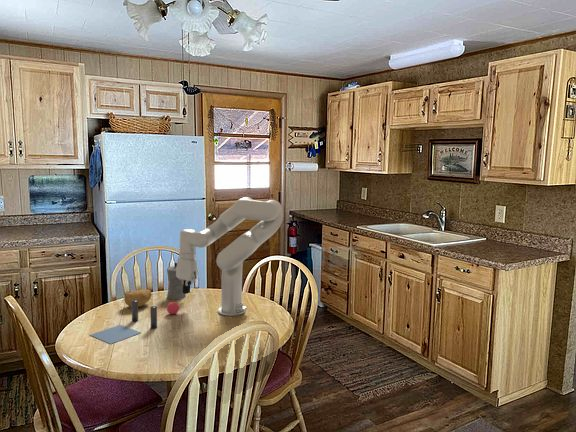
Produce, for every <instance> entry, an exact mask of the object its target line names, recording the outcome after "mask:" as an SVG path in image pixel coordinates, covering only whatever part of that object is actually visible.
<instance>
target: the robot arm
mask: <svg viewBox="0 0 576 432" xmlns="http://www.w3.org/2000/svg"><path fill="white" fill-rule="evenodd" d="M245 220H253V221H259V222H258V223H256V225H254V226H253V227H252V228H250V229H249V230H248V231H245V232H244V233H243V234H241V235H240V236H238V237H237V238H236V239H235V240H233V241H232V242H231V243H230V244H228V245H227V246H225V248H223V249H222V250H221V251H220V252H218V253H217V256H216V259H215V261H216V266H217V267H218V268H219V269H220V270H221V296H220V297H221V301H220V302H221V303H220V307H219V308H218V309H217V312H218V313H219V314H220V315H222V316H227V317H234V316H235V317H236V316H241V315H243V314H244V313H246V312H247V310H248V307H246V306H244V302H243V301H242V300H243V294H242V293H243V265H244V261H245V260H246V259H248V258H249V257H250V256H252V255H253V254H254V252H256V251H257V249H258V248H259V247H260V246H261V245H262V244H263V243H265V242H266V241H268V239H270V238H271V237H272V236H273V235H274V234H275V233H277V231H278V230H279V228H280V227H281V225H282V224H283V223H282V222H283V220H284V210H283V206H282V204H281V203H280V202H279V201H278V200H276V199H269V200H267V201H264V200H263V201H261V200H254V199H253V198H251V197H249V196H244V197H242V198H239V199H237V200H236V201H235V202H234V204H232V205H231V206H230V207H229V208H227V209H226V210H225V211H223V212H222V213H221V214H219V216H218V218H217V219H216V220H215V221H214V222H213V223H211V224H210V225H208V226H207V227H206V228H204V229H202V230H201V231H196V230H195V229H191V228H184V229H182V230H180V233H179V252H178V254H179V257H178V258H177V261H176V263H177V267H176V277H177V278H178V279H180V280H181V282H182V285H183V293H184V294H185V295H186V294H190V293H191V286H192V284H195V283H196V280H197V278H198V263H197V262H198V261H197V248H199V249H200V248H202V249H204V248H206V247H208V246H210V245H211V244H213V243H214V242H215V241H217V240H218V239H220V238H221V237H222V236H224V235H225V234H226V233H228V232H230V231H231V230H233V229H234V228H235V227H237V226H238V225H239V224H240V223H242V222H244V221H245Z"/></svg>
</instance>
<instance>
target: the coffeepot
mask: <svg viewBox="0 0 576 432" xmlns="http://www.w3.org/2000/svg"><path fill="white" fill-rule="evenodd" d="M176 267H177V262H174V265H173V266H167V268H166V272H167V278H168V282H169V285H168V288H167V293H166V297H167V298H168V299H169V300H182V299H184V298H185V297H186V294H184V293H183V285H182V282H181V280H180V279H178V278H177V277H176Z"/></svg>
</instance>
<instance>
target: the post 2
mask: <svg viewBox="0 0 576 432" xmlns="http://www.w3.org/2000/svg"><path fill="white" fill-rule="evenodd" d="M149 311H150V312H149V313H150V329H152V330H153V329H157V328H158V307H157V306H156V305H151V306H150V310H149Z"/></svg>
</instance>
